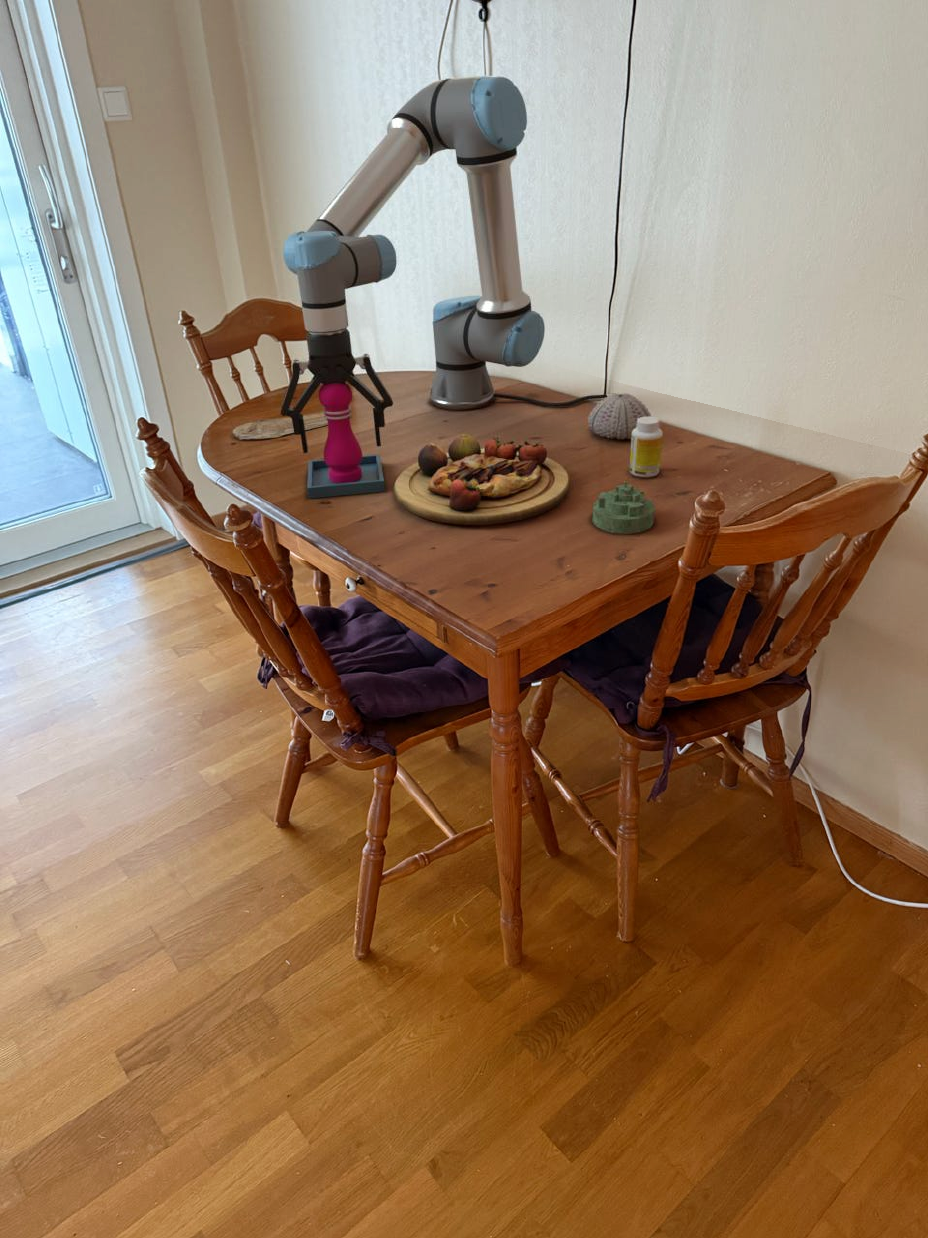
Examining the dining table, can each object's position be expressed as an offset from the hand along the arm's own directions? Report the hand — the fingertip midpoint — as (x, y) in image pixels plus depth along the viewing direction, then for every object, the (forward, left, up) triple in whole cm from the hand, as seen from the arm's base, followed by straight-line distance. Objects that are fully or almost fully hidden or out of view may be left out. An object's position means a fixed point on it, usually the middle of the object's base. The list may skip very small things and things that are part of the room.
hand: (342, 447), depth 156 cm
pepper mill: (0, 0, -6) cm, 6 cm away
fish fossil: (+12, -35, -7) cm, 37 cm away
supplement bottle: (-55, +10, -7) cm, 57 cm away
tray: (0, 0, -7) cm, 7 cm away
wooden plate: (-24, +11, -7) cm, 28 cm away
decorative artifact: (-45, +29, -7) cm, 54 cm away
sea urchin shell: (-57, -12, -7) cm, 59 cm away
